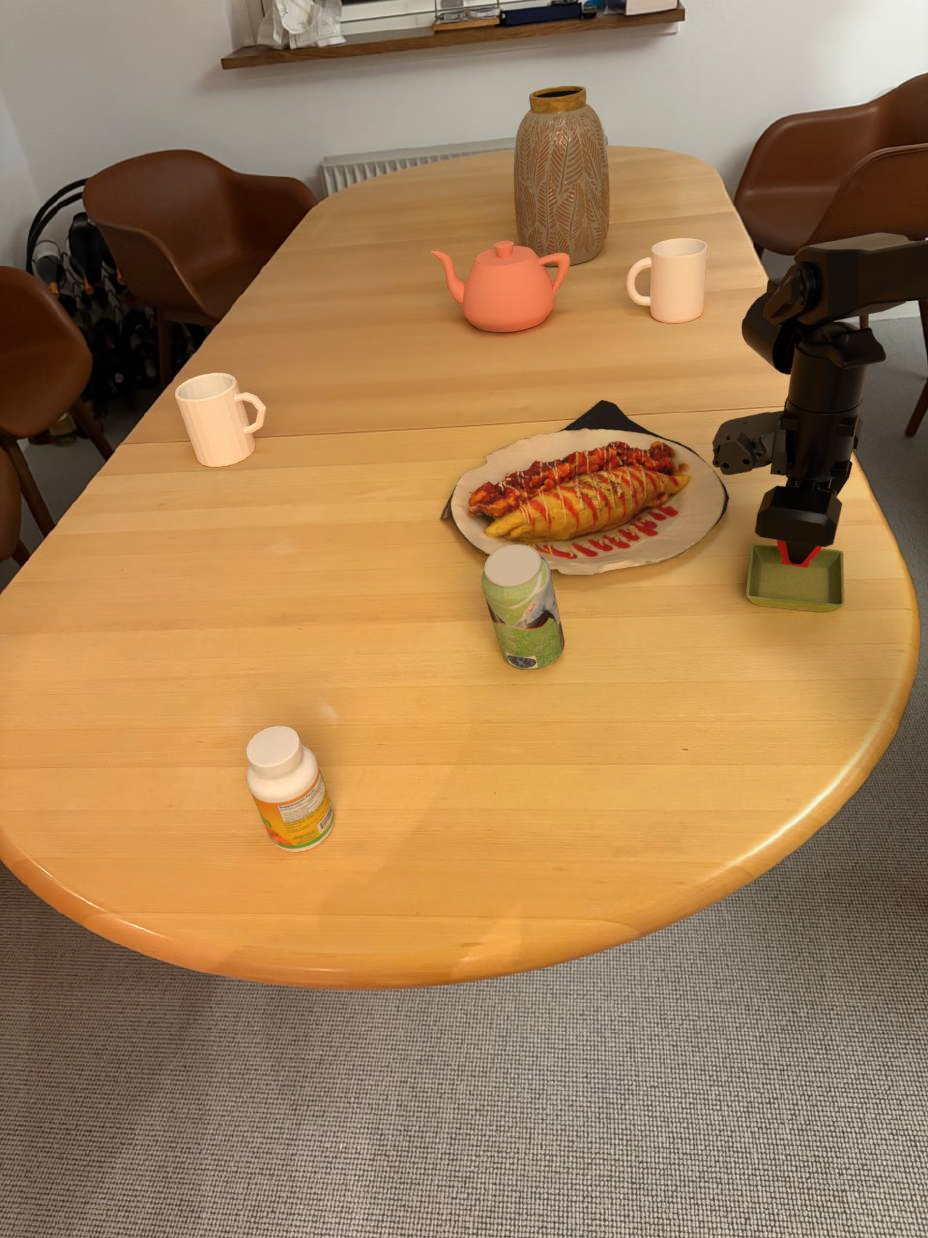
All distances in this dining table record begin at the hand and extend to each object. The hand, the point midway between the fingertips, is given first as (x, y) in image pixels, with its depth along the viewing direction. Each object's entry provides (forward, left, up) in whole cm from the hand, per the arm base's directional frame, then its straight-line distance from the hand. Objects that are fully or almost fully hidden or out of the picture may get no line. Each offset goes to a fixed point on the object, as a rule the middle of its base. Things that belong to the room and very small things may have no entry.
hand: (799, 550), depth 83 cm
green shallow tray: (0, 0, -5) cm, 5 cm away
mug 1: (+74, -9, -5) cm, 75 cm away
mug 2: (+30, -64, -5) cm, 71 cm away
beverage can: (+21, +17, -5) cm, 27 cm away
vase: (+56, -89, -5) cm, 105 cm away
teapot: (+55, -58, -5) cm, 80 cm away
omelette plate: (+26, -10, -5) cm, 28 cm away
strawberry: (0, 0, -1) cm, 1 cm away
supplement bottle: (+31, +41, -5) cm, 52 cm away
